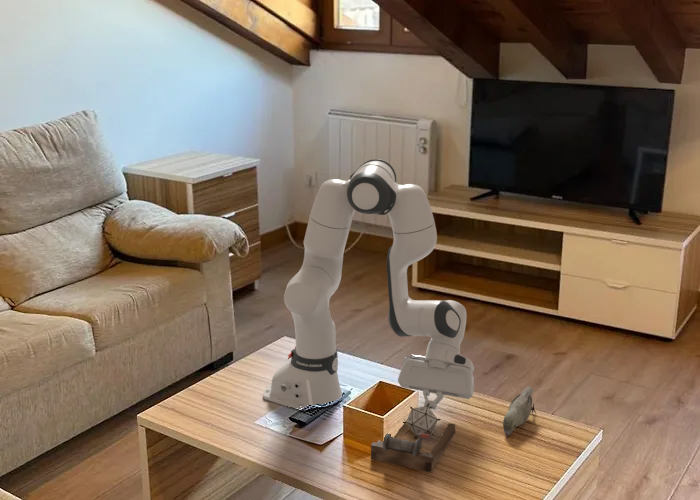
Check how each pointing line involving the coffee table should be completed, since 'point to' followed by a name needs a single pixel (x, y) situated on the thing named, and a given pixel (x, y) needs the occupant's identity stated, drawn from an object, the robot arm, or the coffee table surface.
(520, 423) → the decorative bird
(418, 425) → the game die
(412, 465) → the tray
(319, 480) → the coffee table surface
